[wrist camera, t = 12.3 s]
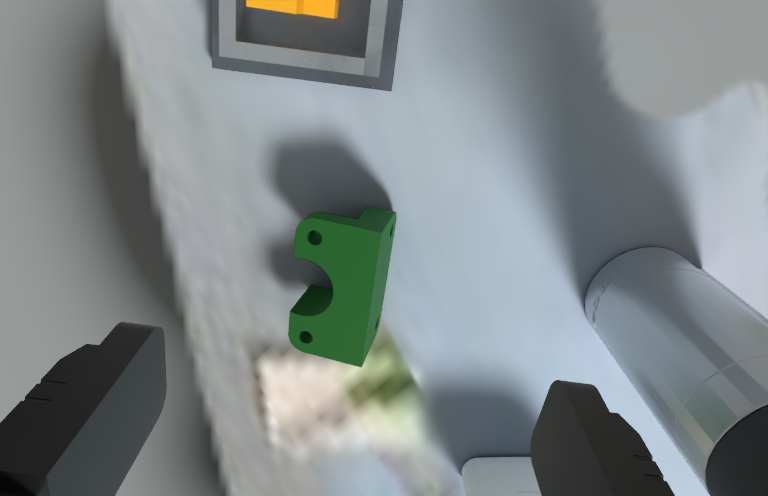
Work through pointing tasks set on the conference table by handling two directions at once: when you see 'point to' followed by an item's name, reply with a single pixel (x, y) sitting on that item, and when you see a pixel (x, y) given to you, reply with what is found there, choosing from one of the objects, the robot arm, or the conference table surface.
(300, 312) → the clamp
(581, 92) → the conference table surface
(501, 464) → the white napkin holder
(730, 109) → the conference table surface
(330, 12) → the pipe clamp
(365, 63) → the grey metal tray
